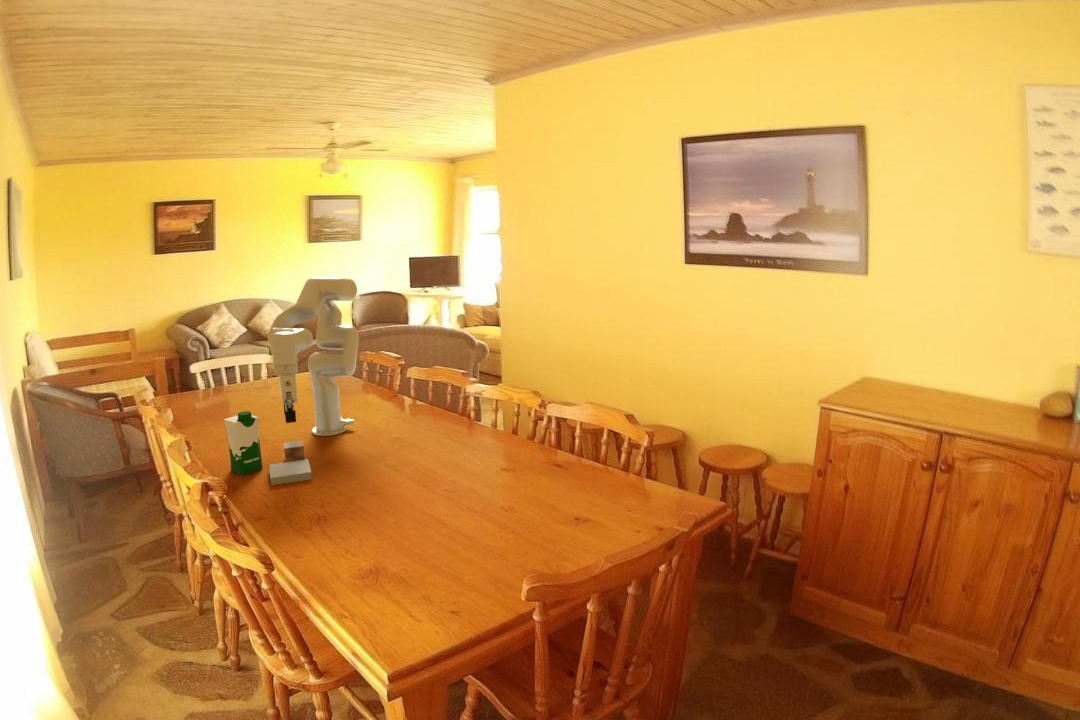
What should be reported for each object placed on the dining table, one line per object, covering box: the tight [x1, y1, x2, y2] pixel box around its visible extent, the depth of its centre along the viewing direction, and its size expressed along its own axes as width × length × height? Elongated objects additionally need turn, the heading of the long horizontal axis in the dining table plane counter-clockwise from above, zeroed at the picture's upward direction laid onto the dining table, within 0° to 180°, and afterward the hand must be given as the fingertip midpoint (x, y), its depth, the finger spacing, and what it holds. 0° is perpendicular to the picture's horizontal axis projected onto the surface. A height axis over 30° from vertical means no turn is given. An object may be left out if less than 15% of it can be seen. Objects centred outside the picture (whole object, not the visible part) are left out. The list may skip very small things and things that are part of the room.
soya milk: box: [223, 410, 264, 476], centre depth 208 cm, size 9×9×20 cm
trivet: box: [269, 458, 313, 486], centre depth 205 cm, size 12×12×2 cm
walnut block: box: [283, 440, 305, 462], centre depth 217 cm, size 6×6×6 cm
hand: (290, 418), depth 214 cm, fingers open, 9 cm apart
